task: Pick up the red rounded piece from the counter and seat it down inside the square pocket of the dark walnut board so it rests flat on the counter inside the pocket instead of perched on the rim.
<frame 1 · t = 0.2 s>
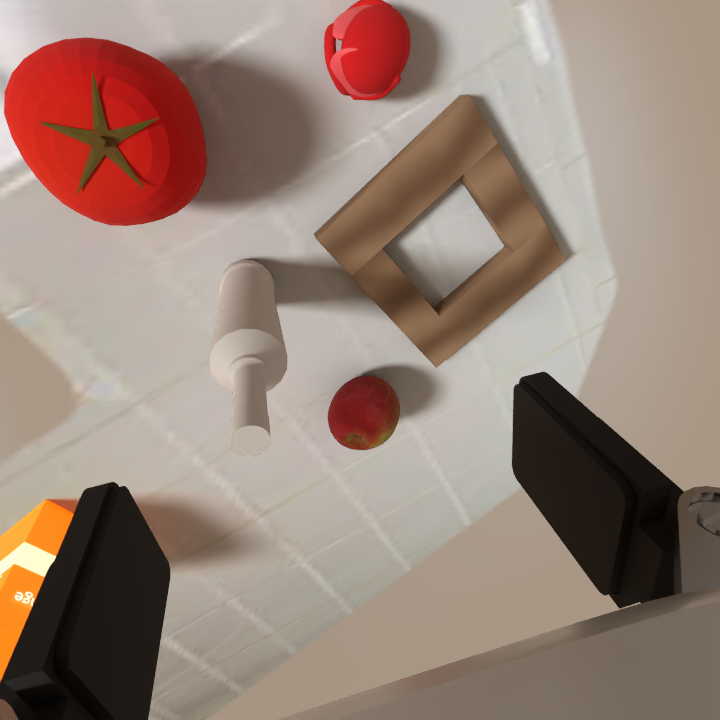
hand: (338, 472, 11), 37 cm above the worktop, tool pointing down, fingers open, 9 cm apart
red rounded piece: (361, 55, 39), on the worktop
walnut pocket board: (443, 244, 48), on the worktop
orange juice: (59, 533, 55), on the worktop
tomato: (134, 131, 38), on the worktop
bottle: (247, 282, 46), on the worktop
apple: (356, 392, 55), on the worktop
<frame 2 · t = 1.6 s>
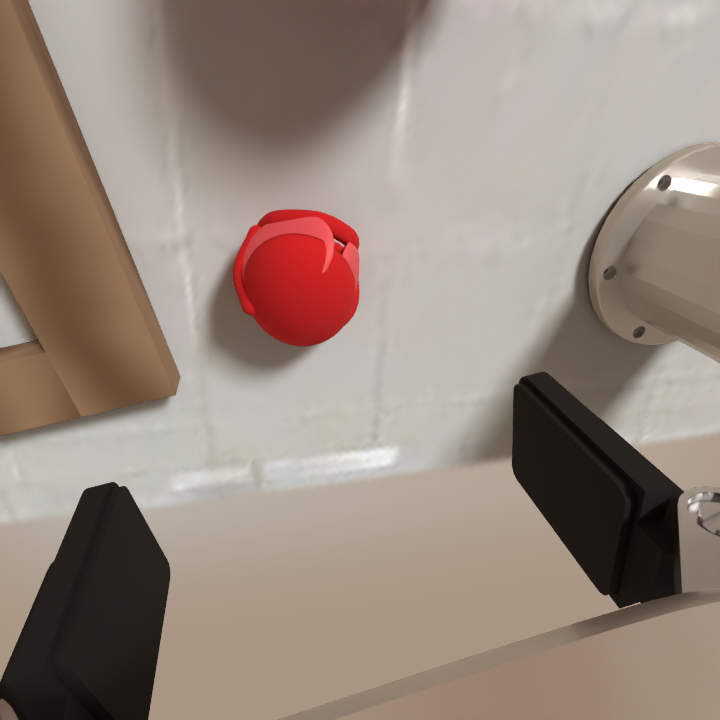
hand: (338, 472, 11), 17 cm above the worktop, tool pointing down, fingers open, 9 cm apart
red rounded piece: (296, 265, 26), on the worktop
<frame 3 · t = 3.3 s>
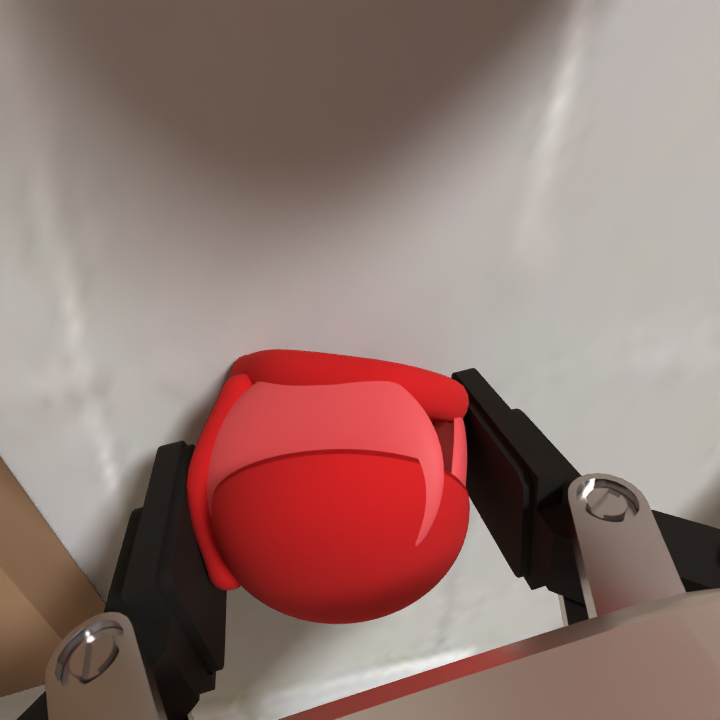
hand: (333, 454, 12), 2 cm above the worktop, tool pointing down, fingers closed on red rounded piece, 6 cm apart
red rounded piece: (319, 413, 13), on the worktop, touching gripper
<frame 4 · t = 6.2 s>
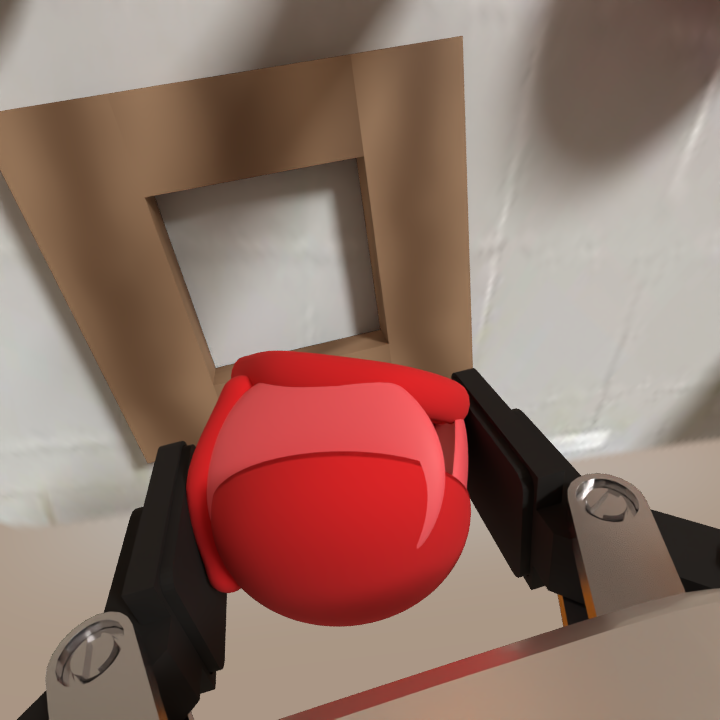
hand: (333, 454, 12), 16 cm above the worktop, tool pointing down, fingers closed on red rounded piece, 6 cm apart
red rounded piece: (319, 414, 13), point 14 cm above the worktop, touching gripper
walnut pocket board: (280, 268, 25), on the worktop
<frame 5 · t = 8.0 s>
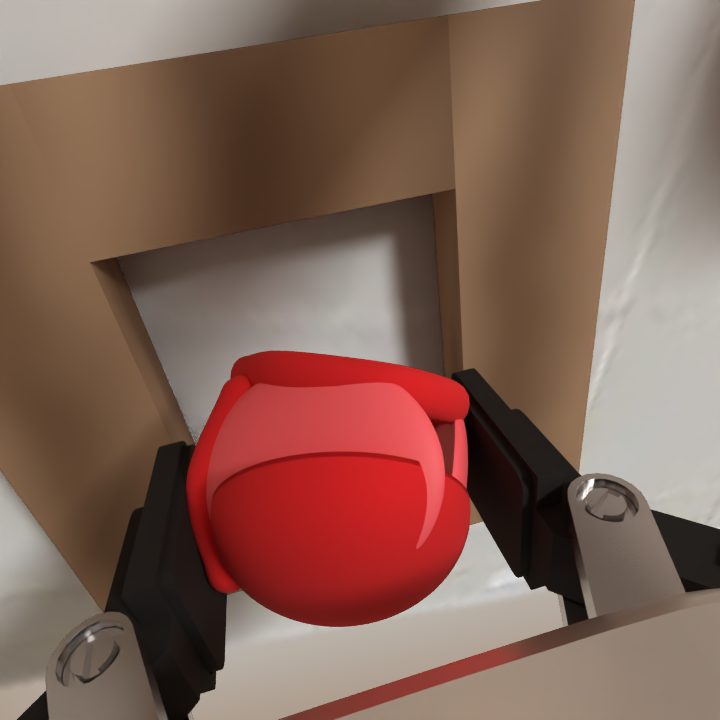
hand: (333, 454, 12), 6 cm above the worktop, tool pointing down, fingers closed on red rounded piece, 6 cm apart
red rounded piece: (319, 414, 13), point 4 cm above the worktop, touching gripper
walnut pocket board: (309, 350, 17), on the worktop
when the fingers open (3 cm above the worktop, at t = 9.4 s): red rounded piece drops 2 cm, on the worktop.
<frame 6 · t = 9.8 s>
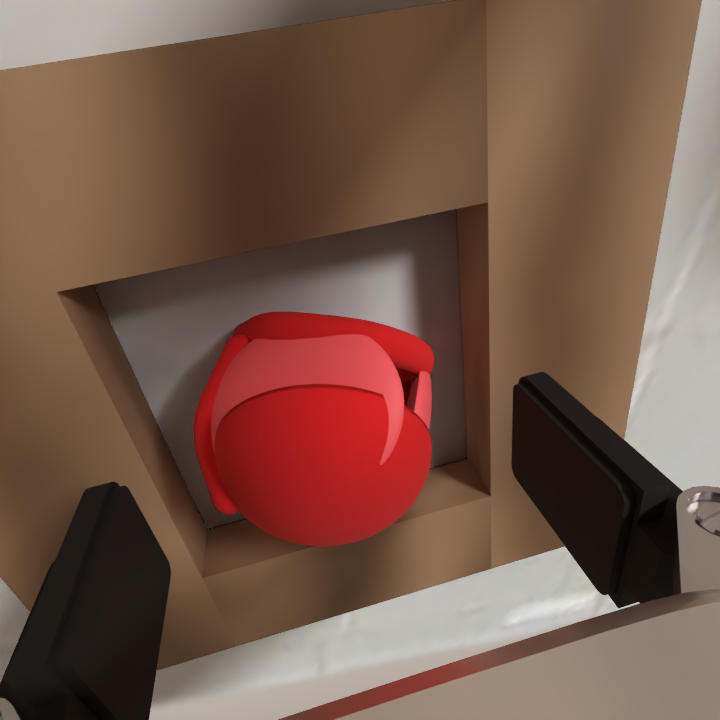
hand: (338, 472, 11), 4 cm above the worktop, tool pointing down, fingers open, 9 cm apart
red rounded piece: (310, 377, 15), on the worktop
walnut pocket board: (315, 382, 15), on the worktop
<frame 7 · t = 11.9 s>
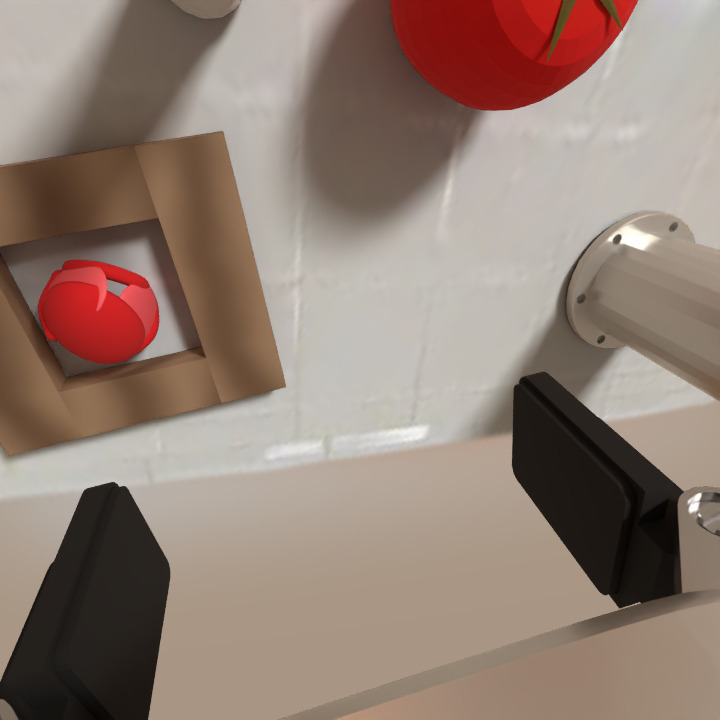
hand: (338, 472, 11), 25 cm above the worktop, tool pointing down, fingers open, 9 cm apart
red rounded piece: (110, 297, 32), on the worktop
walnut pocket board: (111, 299, 32), on the worktop
tomato: (459, 2, 29), on the worktop
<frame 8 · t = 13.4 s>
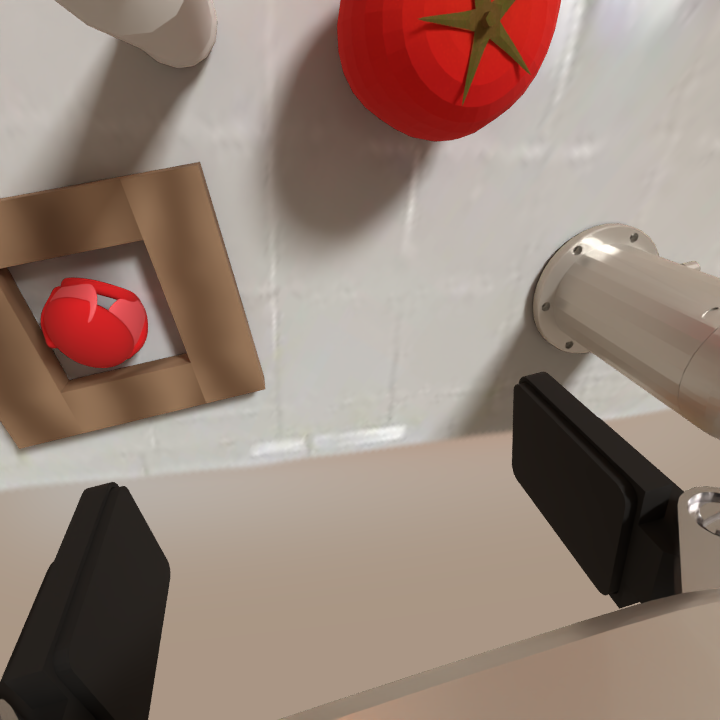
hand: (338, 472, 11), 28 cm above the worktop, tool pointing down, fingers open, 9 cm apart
red rounded piece: (105, 309, 36), on the worktop
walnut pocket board: (106, 310, 36), on the worktop
tomato: (410, 41, 32), on the worktop
bottle: (175, 20, 29), on the worktop
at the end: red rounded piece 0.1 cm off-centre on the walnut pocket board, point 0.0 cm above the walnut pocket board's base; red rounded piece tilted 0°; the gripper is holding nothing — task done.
